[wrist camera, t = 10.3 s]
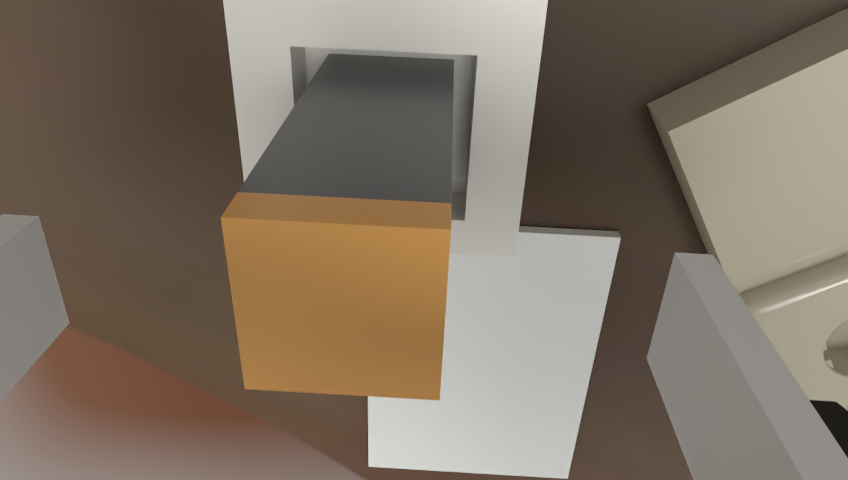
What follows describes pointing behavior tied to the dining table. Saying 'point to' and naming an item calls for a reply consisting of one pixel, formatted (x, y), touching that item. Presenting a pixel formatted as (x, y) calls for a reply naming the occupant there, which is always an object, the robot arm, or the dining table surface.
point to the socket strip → (419, 38)
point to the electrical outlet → (775, 191)
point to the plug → (349, 234)
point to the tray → (507, 361)
